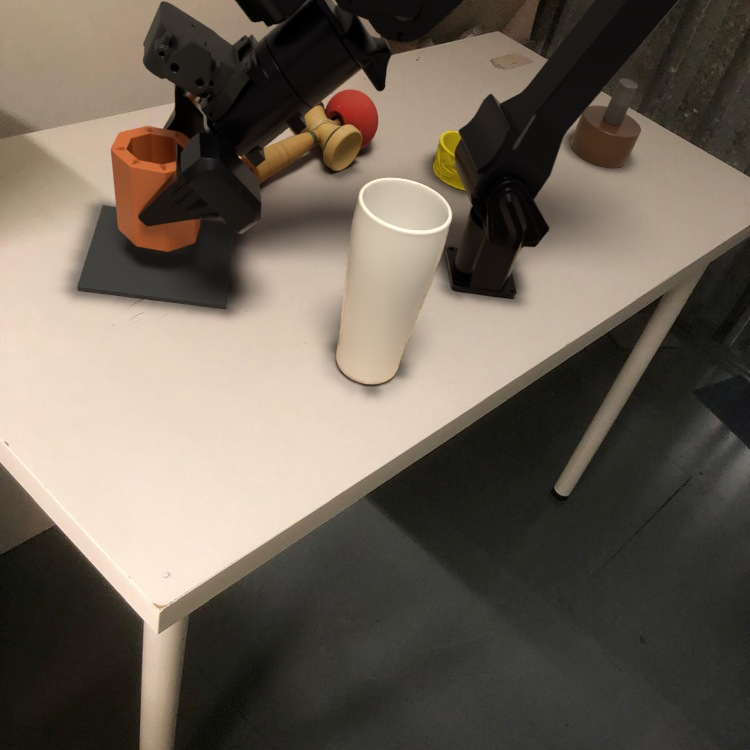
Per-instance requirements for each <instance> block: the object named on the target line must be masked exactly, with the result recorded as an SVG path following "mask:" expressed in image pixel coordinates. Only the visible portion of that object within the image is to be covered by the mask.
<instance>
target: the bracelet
mask: <svg viewBox="0 0 750 750" xmlns="http://www.w3.org/2000/svg"><path fill="white" fill-rule="evenodd" d="M460 139H461V136H460V134H459V132H458V131H457V130H448V131H447V130H446V131H444V132H443V133H442V134H441V135H440V137H439V140H438V144H437V148H436V152H435V155H434V162H433V164H432V169H433V173H434V174H435V176H436V177H437V178H438V179H439V180H440V181H442V182H443V183H444V184H446V185H448V186H450V187H453V188H455V189H458V190H461V191H465V189H464V186H463V184H462V182H461V179H460V177H459V175H458V173H457V170H456V168H455V156H454V153H455V149H456V146H457V145H458V143H459V141H460Z"/></svg>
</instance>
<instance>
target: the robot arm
mask: <svg viewBox="0 0 750 750" xmlns="http://www.w3.org/2000/svg"><path fill="white" fill-rule="evenodd" d="M234 1H235V2H236V4H237V6H238V7H239V8H240V10H241V11H242V12H243V14H244V15H245V16H246V17H247V19H248V20H249V21H250V22H251V23H255V24H256V23H261V22H263V23H264V25H265V26H266V27H267V28H270V27H272V26H275V27H273V28H272V29H270V31H269V32H268V33H266V35H264V36H263V37H262V38H261V39H260V40H259V41H258V40H257V39H256V37H255V35H253V34H250V35H249V36H248V35H247V34H244V35H243V36H242V37H240V39H238V40H237V41H236V42H235V43H233V44H232V43H230V42H229V41H227V40H226V39H225V38H223V37H221V35H219V34H218V33H217V32H216V31H215V30H213V29H212V28H210V27H209V26H207V25H205V24H204V23H203V22H201V21H200V20H198V19H196V18H195V17H193V16H191V15H189V13H187V12H185V11H183V10H182V9H180V8H179V7H177V6H176V5H174V4H173V3H170V2H168V1H166V0H165V1H164V0H162V1H160V2H159V5H158V8H157V9H156V12H155V14H154V17H153V19H152V22H151V24H150V26H149V29H148V31H147V34H146V36H145V38H144V39H143V44H142V45H143V57H142V64H143V65H144V67H145V69H146V70H147V71H148V72H149V73H151V74H152V75H153V76H156V77H157V78H159V79H160V80H164V79H166V80H167V81H168V82H170V83H172V84H174V85H173V86H174V107H173V110H172V111H171V114H170V115H169V117H168V119H167V121H166V122H165V124H164V126H163V127H162V129H167V130H172V131H177V132H181V133H183V134H184V135H185V136H186V137H188V138H189V139H190V140H189V141H188V143H187V144H186V146H185V148H184V149H183V148H182V147H181V146H180V145H179V144H178V143H177V144H176V170H175V171H174V173H173V174H172V175H171V176H170V177H169V178H168V179H167V181H166V182H165V183H164V184H163V185H162V186H161V187H160V189H159V190H158V191H157V192H156V193H155V194H154V195H153V197H152V198H151V199H150V200H149V201H148V202H147V204H146V205H145V206H144V207H143V209H142V210H141V211H140V212H139V214H138V219H139V220H140V221H141V222H142V223H144V224H145V225H146V226H154V225H161V224H167V223H174V222H180V221H186V220H194V219H202V220H205V219H219V218H221V219H222V220H223V221H224V222H225V223H228V224H229V225H230V226H231V227H232V228H233V229H234V230H235V233H237V234H240V235H242V234H244V233H245V232H247V231H248V230H249V229H250V228H253V226H254V225H256V224H257V223H258V222H260V221H261V220H262V208H263V201H262V194H261V193H262V192H261V186H260V184H259V178H258V177H257V176H256V175H255V174H254V173H253V172H252V171H251V170H250V169H249V168H248V166H247V165H246V164H245V163H244V162H243V161H242V160H241V157H242V156H244V155H245V156H246V157H247V159H248V160H249V161H250V162H251V163H252V164H253V165H254V166H255V167H257V166H258V165H260V164H261V163H262V162H263V161H265V153H264V148H265V147H267V146H269V144H271V143H272V142H273V141H274V140H276V139H277V138H278V137H280V135H281V134H283V133H285V132H286V131H287V130H288V129H290V128H291V129H292V130H293V131H294V133H295V134H296V135H297V134H299V133H300V132H301V131H302V130H304V129H305V128H306V127H307V126H306V121H305V116H304V115H305V114H306V113H308V112H309V111H310V110H311V109H313V108H314V107H315V106H316V105H318V104H319V103H320V102H321V101H322V102H323V101H324V100H325V99H326V98H328V97H329V96H330V95H331V94H332V93H334V92H335V91H336V90H338V89H339V88H340V87H341V86H343V85H344V84H345V83H346V82H348V81H349V80H350V79H351V78H352V77H354V76H355V75H356V74H357V73H359V72H360V71H363V72H364V73H363V74H364V75H366V77H367V78H368V80H369V82H371V85H372V86H373V87H374V89H375V90H376V91H377V92H383V91H384V90H385V89H386V82H387V72H388V71H387V70H388V65H389V63H390V60H391V58H392V56H393V52H392V50H391V47H390V45H389V42H388V41H391V42H395V43H400V44H401V45H409V44H413V43H415V42H417V41H419V40H422V39H424V38H425V37H426V36H428V35H429V34H430V33H431V32H433V30H435V29H436V28H437V27H438V26H440V24H441V23H442V22H444V21H445V20H446V19H447V18H448V17H449V16H450V15H451V14H452V13H453V12H454V11H455V10H457V9H458V8H459V7H460V6H461V5H462V4H463V3H464V2H465V0H334V1H335V2H334V1H333V0H234ZM679 2H680V0H593V2H592V3H591V4H590V5H589V7H588V8H587V10H586V11H585V12H584V13H583V15H582V16H580V19H579V20H578V21H577V22H576V23H575V25H574V26H573V27H572V28H571V30H569V32H568V34H567V35H566V36H565V37H564V38H563V40H562V41H561V43H560V44H559V45H558V46H557V48H555V50H554V51H553V53H552V54H551V55H550V56H549V58H548V59H547V61H545V63H544V64H543V65H542V67H541V68H540V69H539V71H538V72H537V73H536V74H535V76H534V77H533V78H532V79H531V81H530V82H529V83H528V85H527V86H526V87H525V88H524V89H523V90H522V91H520V92H519V93H518V94H516V95H514V96H512V97H510V98H508V99H506V100H504V101H502V102H500V101H499V100H498V99H497V97H495V95H494V94H492V93H489V94H488V95H486V97H485V98H484V99H483V100H482V101H481V103H480V105H479V107H478V109H477V110H476V112H475V114H474V116H473V117H472V118H471V119H470V120H469V121H468V123H467V124H465V125H463V126H461V128H459V129H458V131H457V132H459V134H460V136H461V139H460V141H459V143H458V145H457V146H456V149H455V153H454V156H455V168H456V170H457V173H458V175H459V177H460V179H461V182H462V184H463V186H464V189H465V190H464V191H465V193H466V195H467V197H468V200H469V202H470V204H471V207H470V209H469V212H468V215H467V219H466V222H465V224H464V227H463V231H462V235H461V237H460V240H459V242H458V246H451V245H449V246H446V248H445V257H446V264H447V270H448V275H449V281H450V285H451V288H452V289H453V290H455V291H459V292H468V293H473V294H481V295H488V296H497V297H504V298H511V299H512V298H515V297H517V294H518V291H517V286H516V283H515V279H514V275H513V269H514V267H515V264H516V262H517V260H518V257H519V254H520V252H521V250H522V249H524V248H536V247H537V246H538V245H539V243H541V241H542V240H543V239H544V238H545V237H546V235H547V234H548V233H549V231H550V225H549V224H548V222H547V221H546V218H545V216H544V215H543V213H542V211H541V209H540V207H539V205H538V204H537V201H536V200H535V199H536V198H537V196H538V195H539V193H540V192H541V190H542V189H543V187H544V186H545V185H546V183H547V181H548V180H549V178H550V177H551V175H552V173H553V169H554V167H555V164H556V160H557V158H558V155H559V153H560V149H561V147H562V143H563V141H564V138H565V136H566V134H567V133H568V131H570V129H571V128H572V126H574V124H575V123H576V122H577V121H578V120H579V119H580V117H581V115H582V113H583V112H584V111H585V110H586V109H587V108H588V107H589V106H591V105H592V103H593V102H594V101H595V100H596V98H597V97H598V96H599V95H600V94H601V92H602V91H603V90H604V89H605V88H606V87H607V86H608V84H609V83H610V82H611V81H612V80H613V78H614V77H615V76H616V75H617V74H618V73H619V72H620V70H621V69H622V68H623V67H624V66H625V65H626V64H627V63H628V61H629V60H630V59H631V58H632V56H634V54H635V53H636V52H637V51H638V49H640V47H641V46H642V45H643V44H644V42H646V40H647V39H648V38H649V37H650V36H651V34H652V33H653V32H654V31H655V30H656V29H657V27H658V26H659V25H660V24H661V23H662V22H663V20H665V19H666V17H667V16H668V15H669V13H670V12H671V11H672V10H673V9H674V7H675V6H677V4H678V3H679ZM360 18H362V19H364V20H367V21H368V23H369V24H370V25H371V27H372V28H373V30H374V31H375V32H376V34H378V35H380V36H381V37H377V36H373V35H371V34H370V32H369V31H368V29H367V28H366V26H365V24H364V22H362V20H361V19H360ZM289 127H290V128H289Z"/></svg>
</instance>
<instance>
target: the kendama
mask: <svg viewBox="0 0 750 750" xmlns="http://www.w3.org/2000/svg"><path fill="white" fill-rule="evenodd" d="M304 116H305V121H306V126H307V127H306V128H305V129H304V130H302V131H301V132H300V133H299V134H297V135H296V134H295V133H294V131H293V130H292V129H291V128H290V127H289V128H288V129H289V130H290V132H291V133H292V134H293V135H292V136H289V137H286V138H284V139H281V140H278V141H277V142H274V143H272V144H270V145H267V146H265V147H264V153H265V161H263V162H262V163H261V164H260V165H258V166H257V167H255V166H254V165H253V164H252V163H251V162H250V161H249V160H248V159H247V157H246V156H245V155H244V156H242V157H240V159H241V160H242V161H243V162H244V163H245V164H246V165H247V166H248V168H249V169H250V170H251V171H252V172H253V173H254V174H255V175H256V176H257V177H258V178H259V185H260V184H262V183H264V182H265V181H266V180H268V178H269V179H270V178H271V177H272V176H273V175H276V173H279V171H281V170H283V169H284V168H285V167H288V166H290V165H291V164H292V163H293V162H295V161H297V160H298V159H300V158H301V157H303V156H304V155H305V154H306V153H307V152H309V151H310V150H311V149H313V148H314V146H316V145H318V144H319V146H320V148H321V150H322V161H323V164H325V166H327V167H328V168H329V169H331V170H332V171H334V172H339V171H342V170H344V169H346V168H347V167H348V166H350V165H351V164H352V162H353V161H354V160H355V159H356V157H357V155H358V154H359V152H360V150H362V149H363V148H365V147H367V146H368V145H370V143H371V142H372V141H373V139H374V138H375V137H376V134H377V131H378V127H379V114H378V110H377V106H376V105H375V103H374V101H373V100H372V99H371V98H370V96H368V94H366V93H364V92H363V91H360V90H357V89H351V88H350V89H342V90H341V91H339V92H337V93H335V94H334V95H333V96H332V97H330V99H329V100H328V102H327V104H326V106H325V104H324V102H323V101H321V102H320V103H319V104H318V105H316V106H315V107H314V108H313V109H311V110H310V111H309V112H308V113H306V114H305V115H304Z"/></svg>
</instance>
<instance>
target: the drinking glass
mask: <svg viewBox="0 0 750 750" xmlns="http://www.w3.org/2000/svg"><path fill="white" fill-rule="evenodd" d="M452 218H453V211H452V207H451V206H450V203H448V201H447V199H445V198H444V197H443V196H442V194H440V193H439V192H437V191H435V190H434V189H433V188H431V187H429V186H427V185H425V184H423V183H420V182H418V181H414V180H412V179H407V178H401V177H382V178H377V179H374V180H373V179H372V180H371V181H368V182H367V183H366V184H364V185H363V186H362V187H361V188H360V190H359V192H358V196H357V200H356V204H355V209H354V212H353V216H352V221H351V225H350V232H349V237H348V243H347V250H346V251H347V252H346V260H345V270H344V271H345V272H344V284H343V292H342V305H341V315H340V325H339V326H340V327H339V334H338V340H337V345H336V351H335V361H336V364H337V366H338V368H339V370H340V371H341V373H343V374H344V375H345V376H346V377H347V378H349V379H351V380H353V381H355V382H357V383H360V384H364V385H379V384H383V383H386V382H388V381H389V380H391V379H392V378H393V377H394V376H395V375H396V373H397V372H398V370H399V368H400V364H401V361H402V357H403V354H404V352H405V349H406V347H407V345H408V342H409V339H410V337H411V334H412V332H413V330H414V328H415V324H416V322H417V320H418V317H419V316H420V315H419V314H420V313H421V310H422V307H423V305H424V303H425V300H426V298H427V296H428V293H429V291H430V288H431V286H432V284H433V282H434V279H435V276H436V274H437V271H438V268H439V266H440V263H441V260H442V257H443V253H444V252H445V246H446V243H447V240H448V236H449V231H450V228H451V223H452V221H453V219H452Z"/></svg>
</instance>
